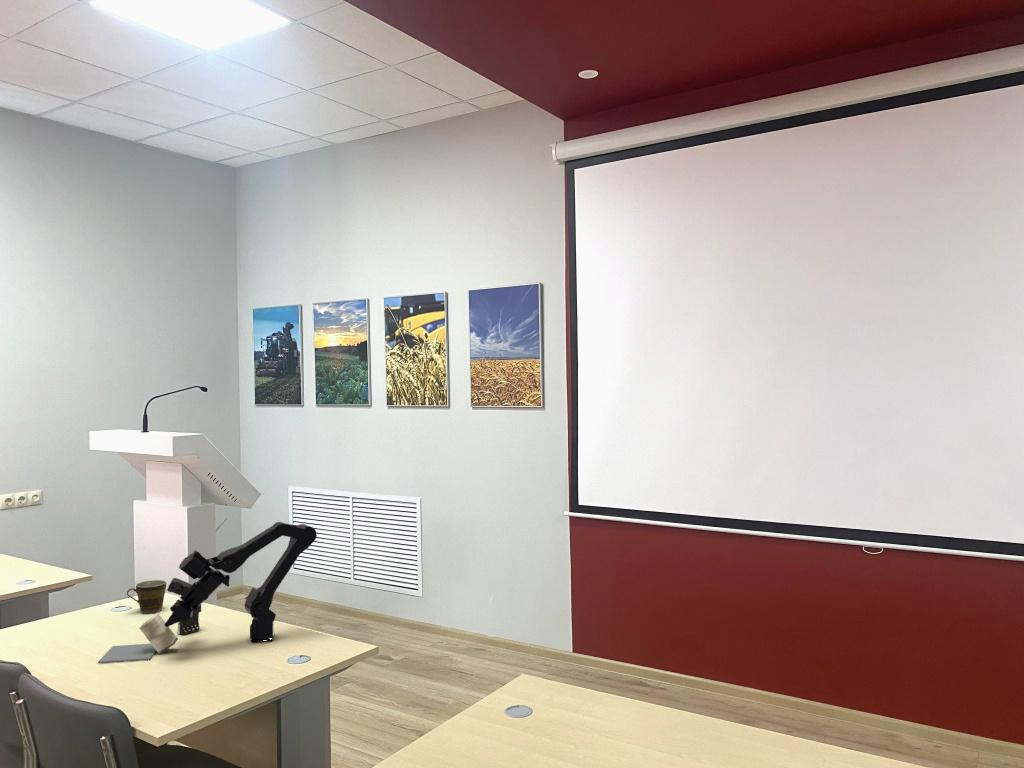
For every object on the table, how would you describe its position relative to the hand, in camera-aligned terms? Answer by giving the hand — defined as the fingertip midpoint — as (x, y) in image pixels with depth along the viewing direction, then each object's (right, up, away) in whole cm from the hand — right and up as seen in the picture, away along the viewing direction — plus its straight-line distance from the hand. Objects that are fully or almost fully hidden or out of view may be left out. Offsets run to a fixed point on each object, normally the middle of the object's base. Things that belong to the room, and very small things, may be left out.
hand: (165, 625), depth 229 cm
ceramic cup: (-26, -9, +42) cm, 50 cm away
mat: (-9, -8, -2) cm, 12 cm away
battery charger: (0, -8, +18) cm, 20 cm away
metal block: (+1, -6, 0) cm, 6 cm away
